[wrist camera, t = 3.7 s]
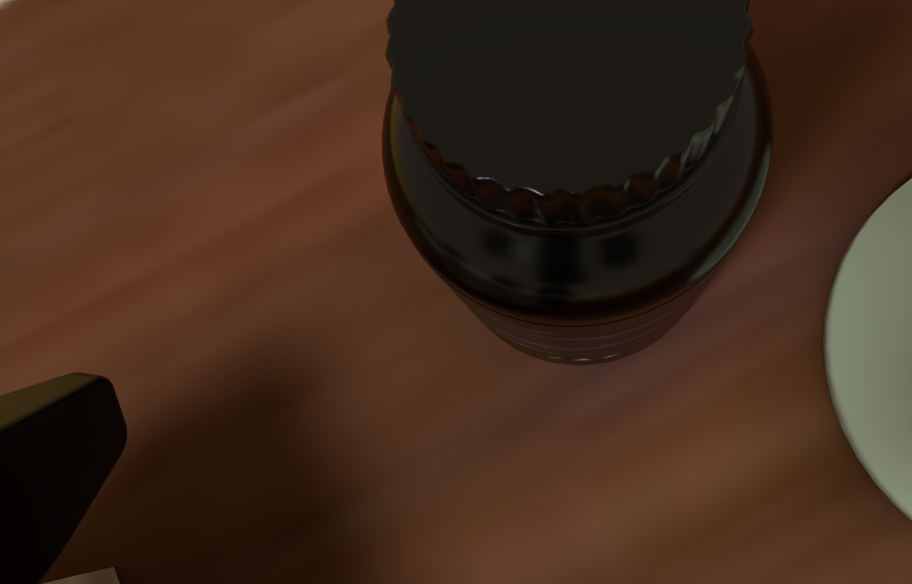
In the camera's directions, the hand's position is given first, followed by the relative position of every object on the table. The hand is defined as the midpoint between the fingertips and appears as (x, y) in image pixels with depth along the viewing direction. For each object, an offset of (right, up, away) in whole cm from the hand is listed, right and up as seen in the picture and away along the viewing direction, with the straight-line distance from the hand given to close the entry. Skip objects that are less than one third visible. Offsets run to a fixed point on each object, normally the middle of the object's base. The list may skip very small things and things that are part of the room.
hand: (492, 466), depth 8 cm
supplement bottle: (+3, +3, +13) cm, 14 cm away
